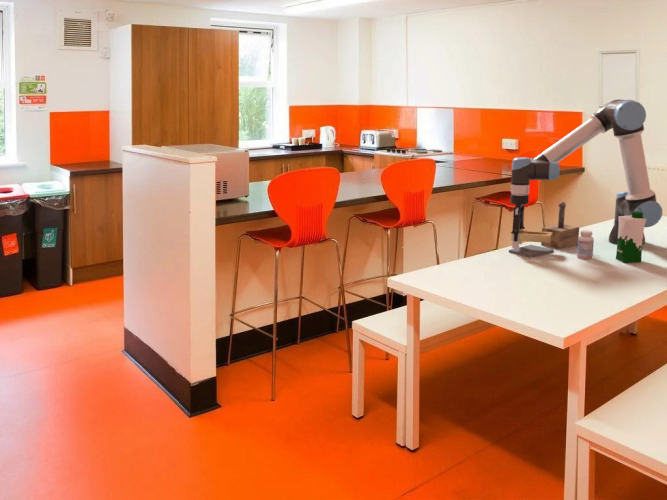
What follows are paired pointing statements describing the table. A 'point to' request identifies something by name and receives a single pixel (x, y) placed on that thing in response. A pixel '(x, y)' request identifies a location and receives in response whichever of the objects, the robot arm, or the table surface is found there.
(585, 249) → the pill bottle
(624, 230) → the milk carton
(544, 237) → the golden brown rectangular frame
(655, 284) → the table surface
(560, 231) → the walnut stand
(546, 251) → the rubber mat
